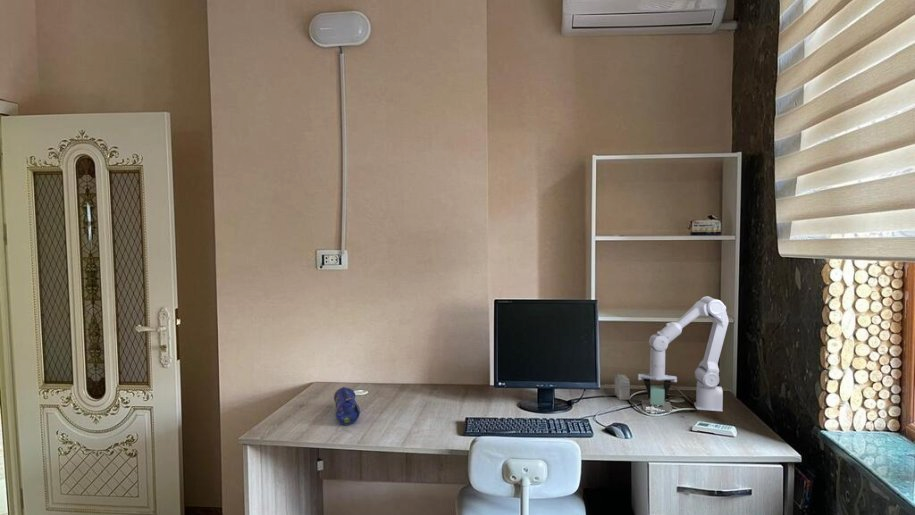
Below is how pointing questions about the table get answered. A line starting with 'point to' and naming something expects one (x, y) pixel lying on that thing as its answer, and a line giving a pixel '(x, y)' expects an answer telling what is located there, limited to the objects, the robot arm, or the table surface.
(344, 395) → the pencil case
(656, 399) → the seafoam green cube
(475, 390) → the table surface
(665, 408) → the post board
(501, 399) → the table surface
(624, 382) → the medicine box
